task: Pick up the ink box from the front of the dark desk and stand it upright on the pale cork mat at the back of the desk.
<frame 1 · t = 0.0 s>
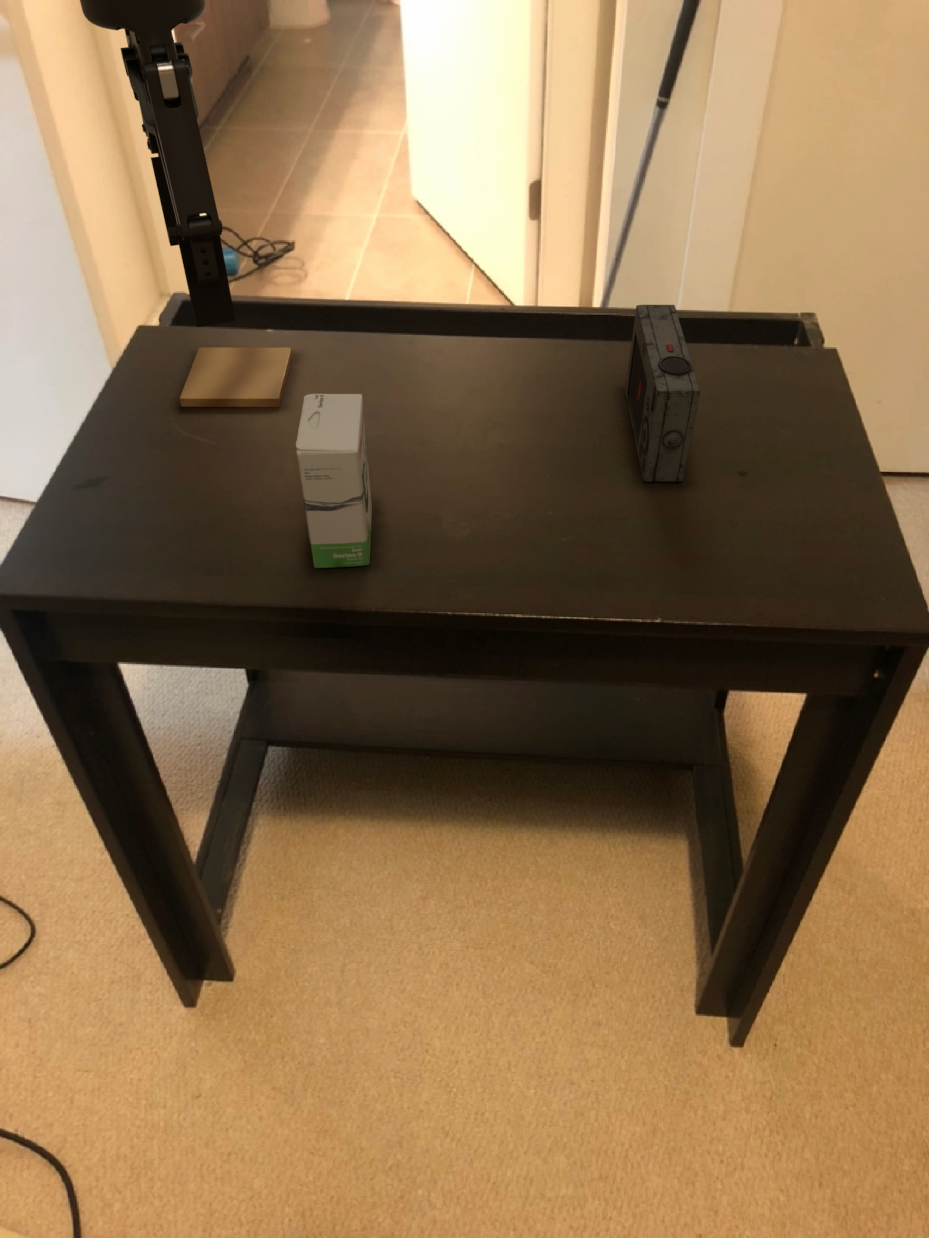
hand: (200, 279, 74), 21 cm above the table, tool pointing down, fingers open, 13 cm apart
cork mat: (238, 380, 103), on the table
camera: (652, 440, 96), on the table
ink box: (343, 537, 85), on the table
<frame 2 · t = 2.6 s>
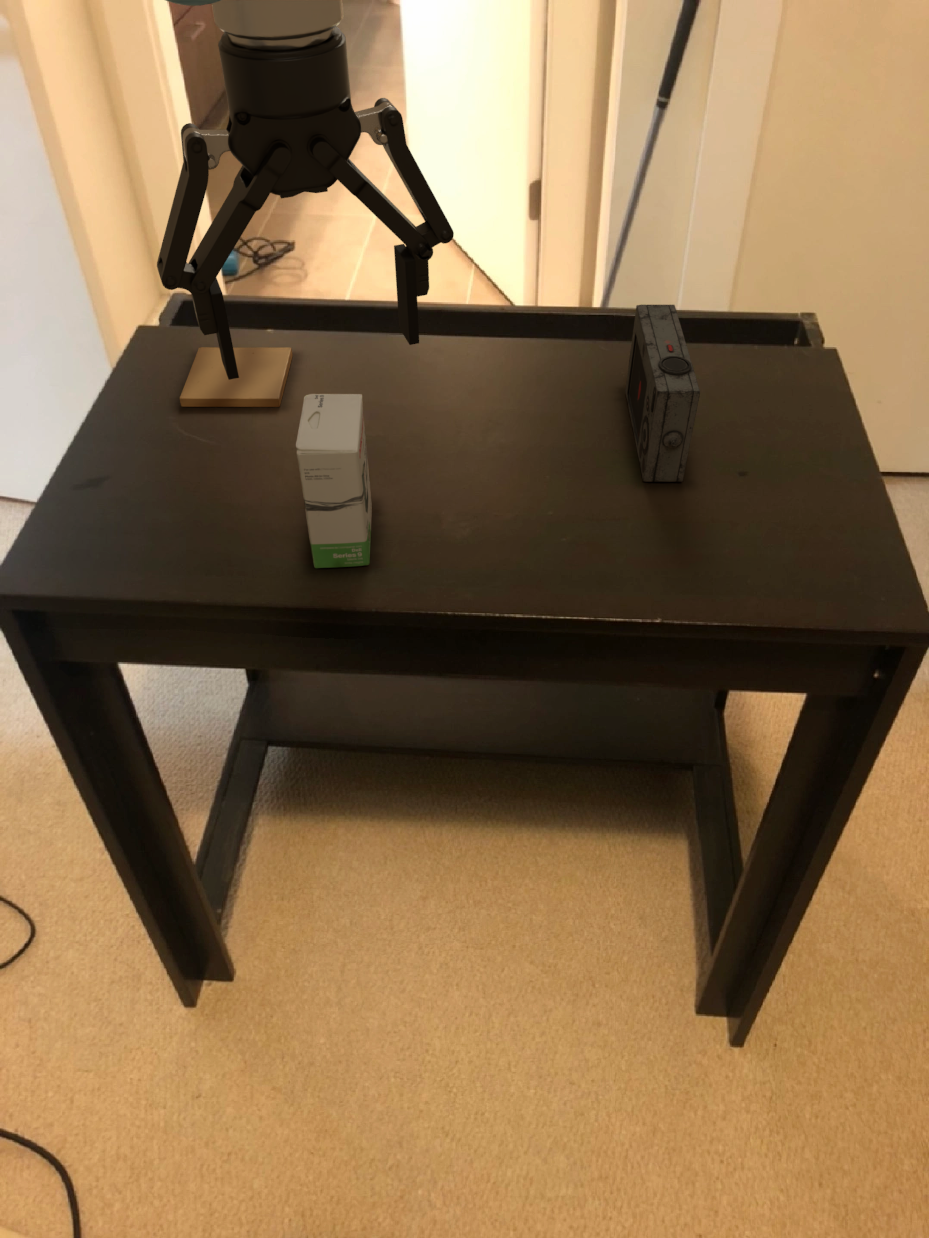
hand: (321, 352, 73), 18 cm above the table, tool pointing down, fingers open, 13 cm apart
nothing on the table moved.
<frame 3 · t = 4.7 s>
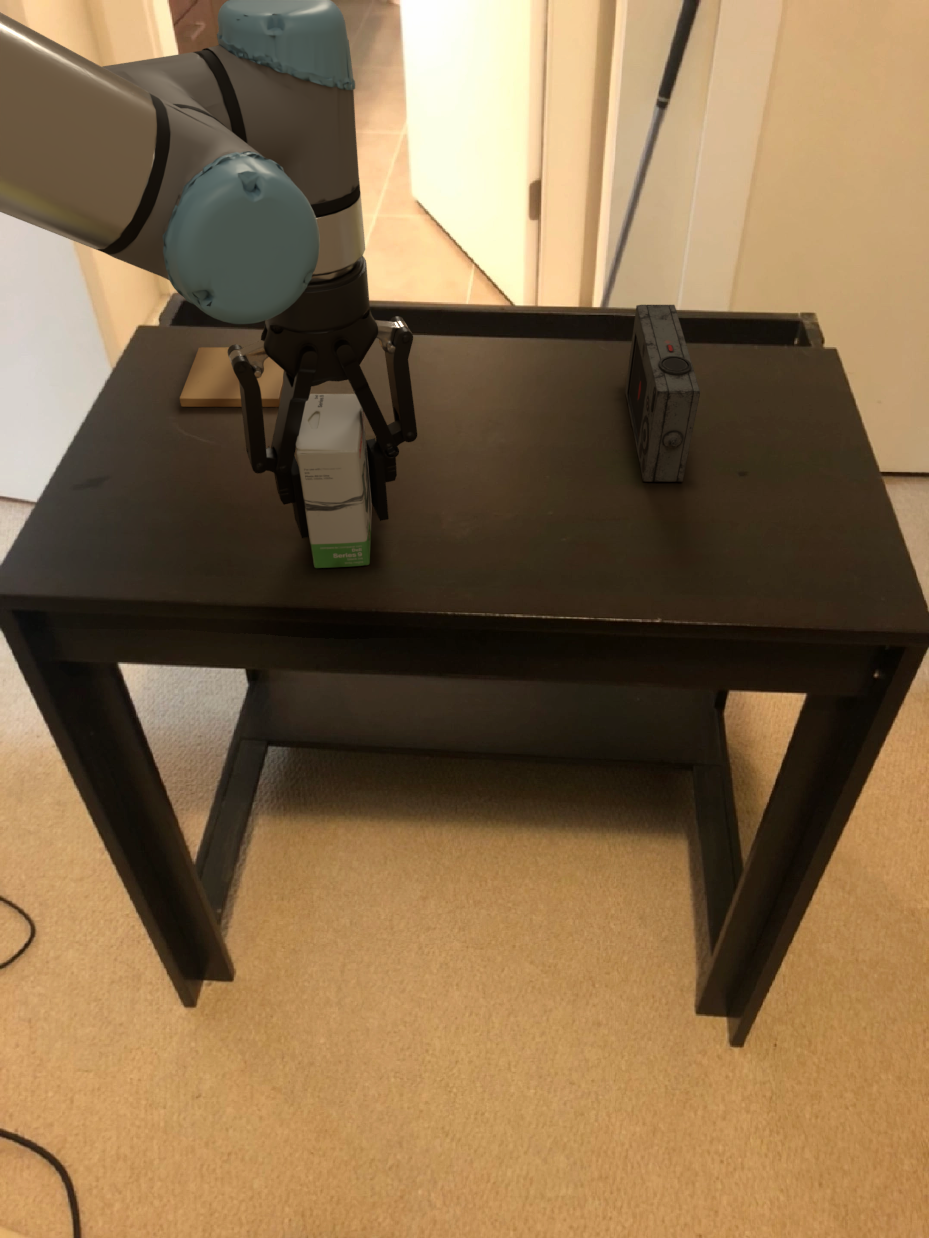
hand: (341, 518, 84), 2 cm above the table, tool pointing down, fingers closed on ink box, 6 cm apart
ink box: (343, 537, 85), on the table, touching gripper
everything else where it was.
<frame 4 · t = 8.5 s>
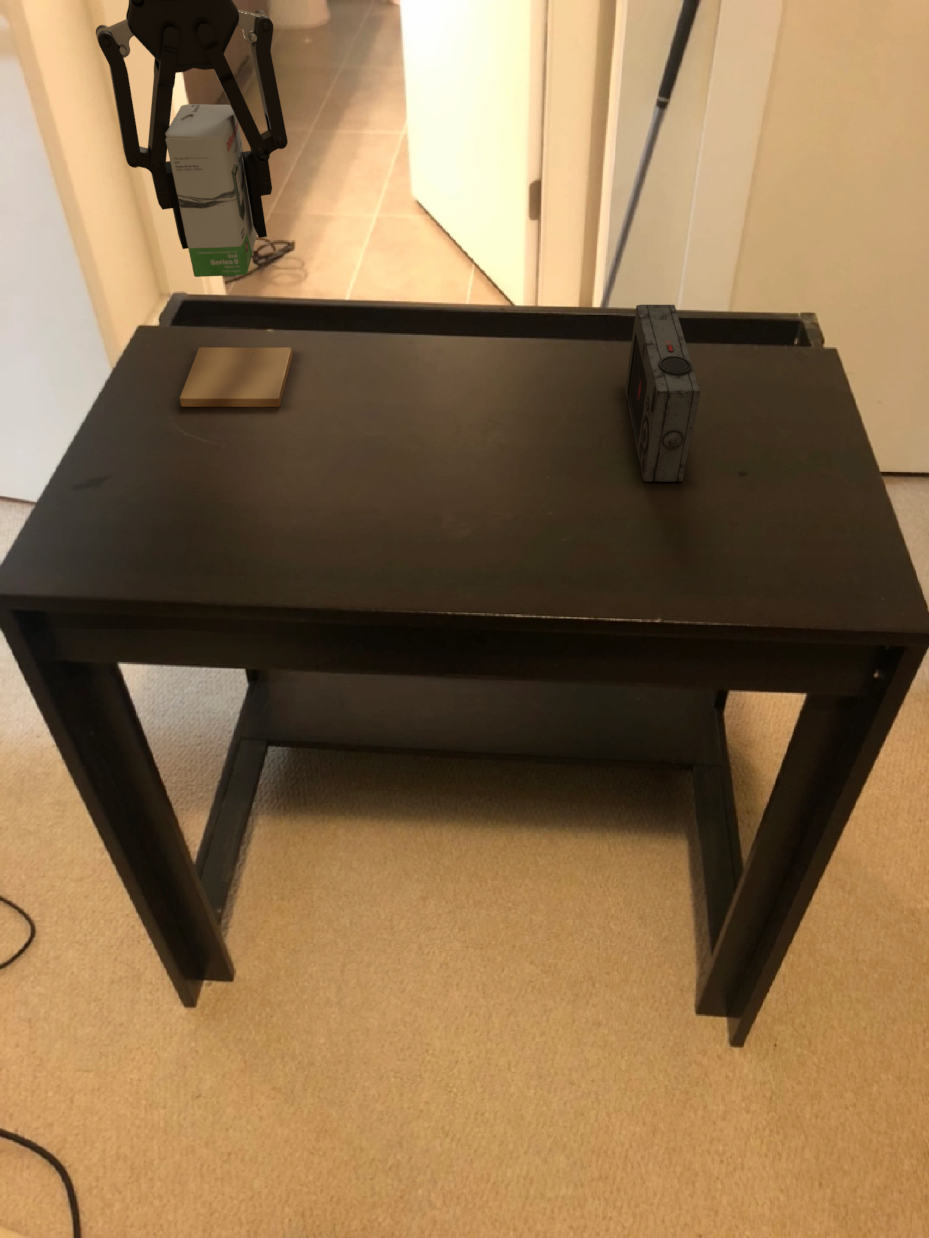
hand: (222, 236, 88), 17 cm above the table, tool pointing down, fingers closed on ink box, 6 cm apart
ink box: (226, 258, 90), point 15 cm above the table, touching gripper
everything else where it was.
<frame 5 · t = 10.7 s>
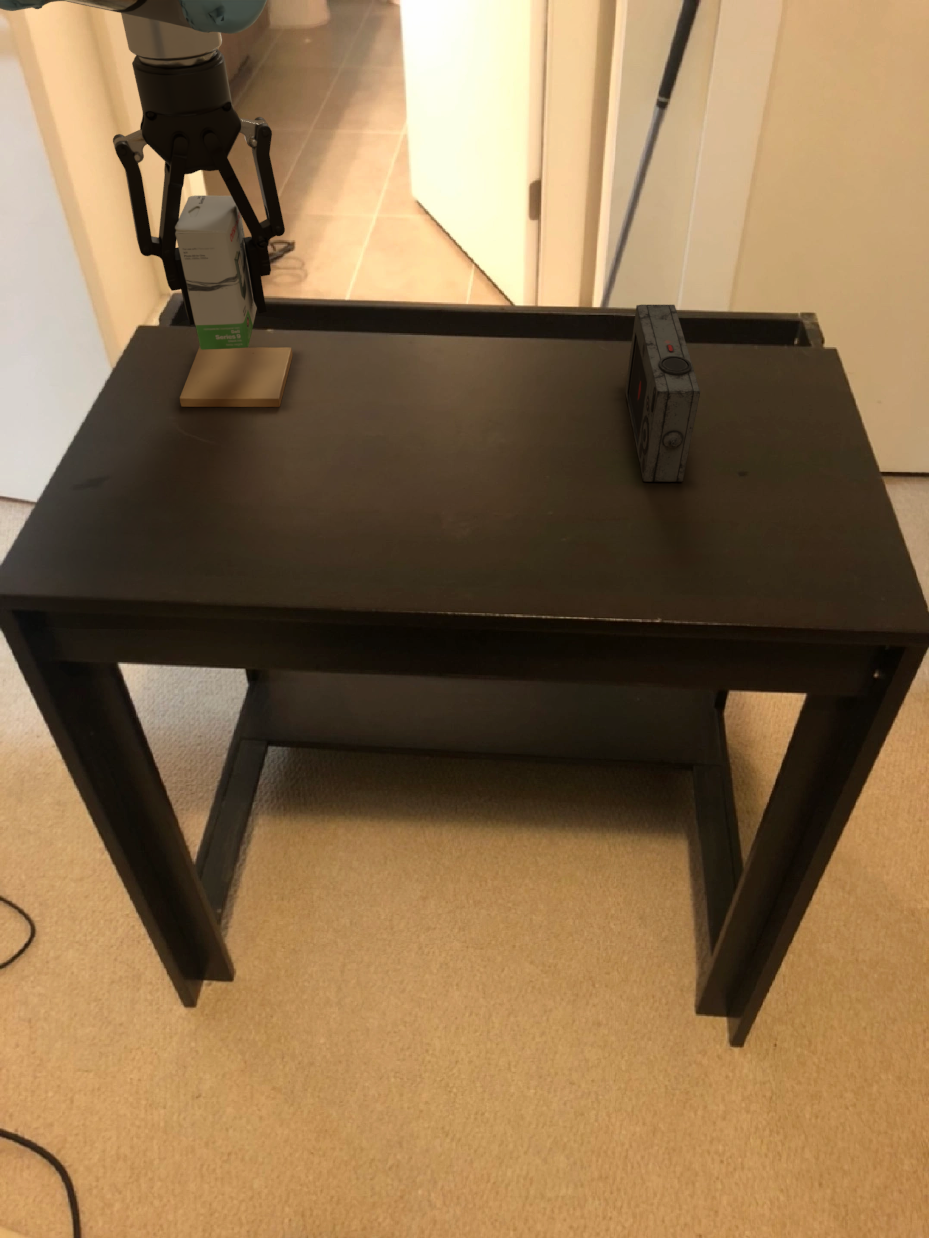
hand: (226, 311, 97), 8 cm above the table, tool pointing down, fingers closed on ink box, 6 cm apart
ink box: (229, 330, 99), point 6 cm above the table, touching gripper
everything else where it was.
when the fingers open (3 cm above the table, at t = 12.3 s): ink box stays where it is, resting on cork mat.
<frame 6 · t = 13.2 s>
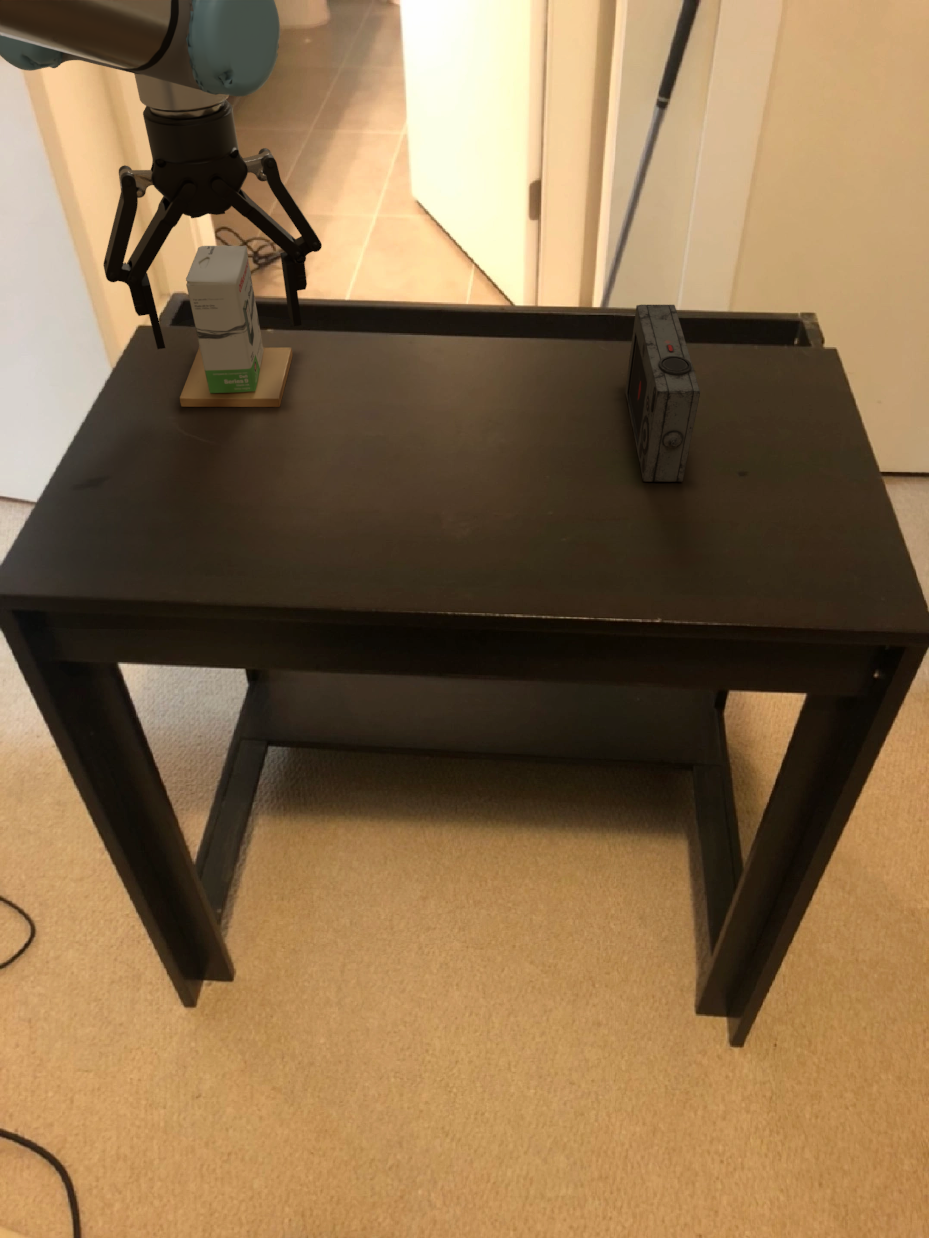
hand: (228, 331, 99), 6 cm above the table, tool pointing down, fingers open, 13 cm apart
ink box: (237, 373, 102), point 1 cm above the table, touching cork mat
everything else where it was.
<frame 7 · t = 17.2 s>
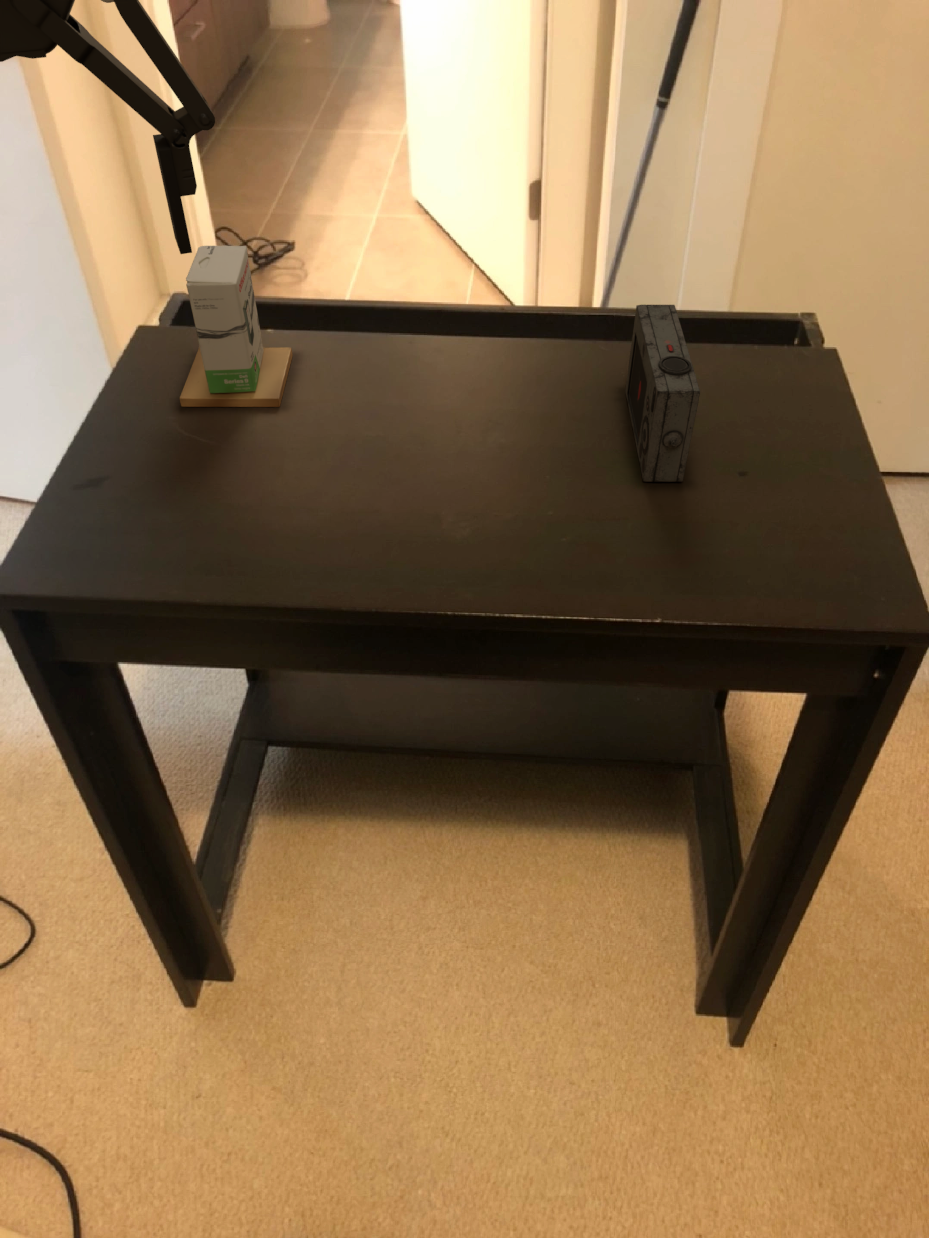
hand: (77, 261, 63), 27 cm above the table, tool pointing down, fingers open, 13 cm apart
nothing on the table moved.
at the end: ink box inside the target area on the cork mat (0.0 cm from its centre), point 0.8 cm above the cork mat's base; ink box tilted 0°; the gripper is holding nothing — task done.
